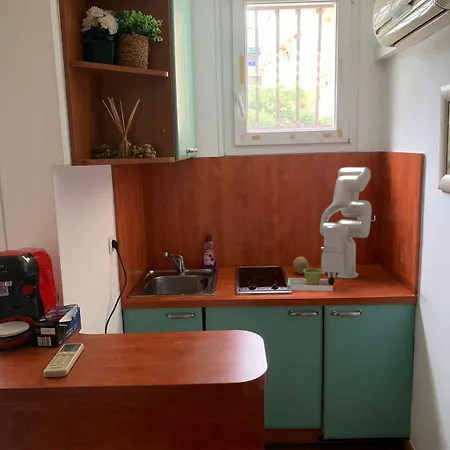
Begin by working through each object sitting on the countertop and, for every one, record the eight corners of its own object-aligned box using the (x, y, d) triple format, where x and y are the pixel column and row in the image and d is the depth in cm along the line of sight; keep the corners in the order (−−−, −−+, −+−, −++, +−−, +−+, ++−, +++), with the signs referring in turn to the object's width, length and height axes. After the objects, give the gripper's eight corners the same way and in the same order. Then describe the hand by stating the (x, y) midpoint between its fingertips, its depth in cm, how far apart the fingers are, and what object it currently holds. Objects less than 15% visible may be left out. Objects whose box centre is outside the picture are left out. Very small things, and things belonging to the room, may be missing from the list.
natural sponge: (292, 271, 270) (292, 254, 269) (307, 271, 270) (307, 254, 269) (293, 275, 261) (293, 258, 260) (309, 275, 261) (309, 258, 260)
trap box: (288, 283, 246) (288, 278, 246) (330, 283, 243) (330, 278, 243) (288, 290, 233) (287, 284, 233) (332, 291, 230) (332, 285, 230)
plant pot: (320, 290, 232) (320, 273, 231) (301, 289, 235) (301, 272, 234) (323, 285, 241) (323, 269, 240) (305, 284, 244) (305, 268, 243)
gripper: (316, 251, 231) (316, 286, 234) (347, 251, 229) (347, 287, 232) (316, 248, 239) (316, 282, 241) (346, 248, 236) (345, 283, 239)
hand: (331, 284), depth 236 cm, fingers closed
